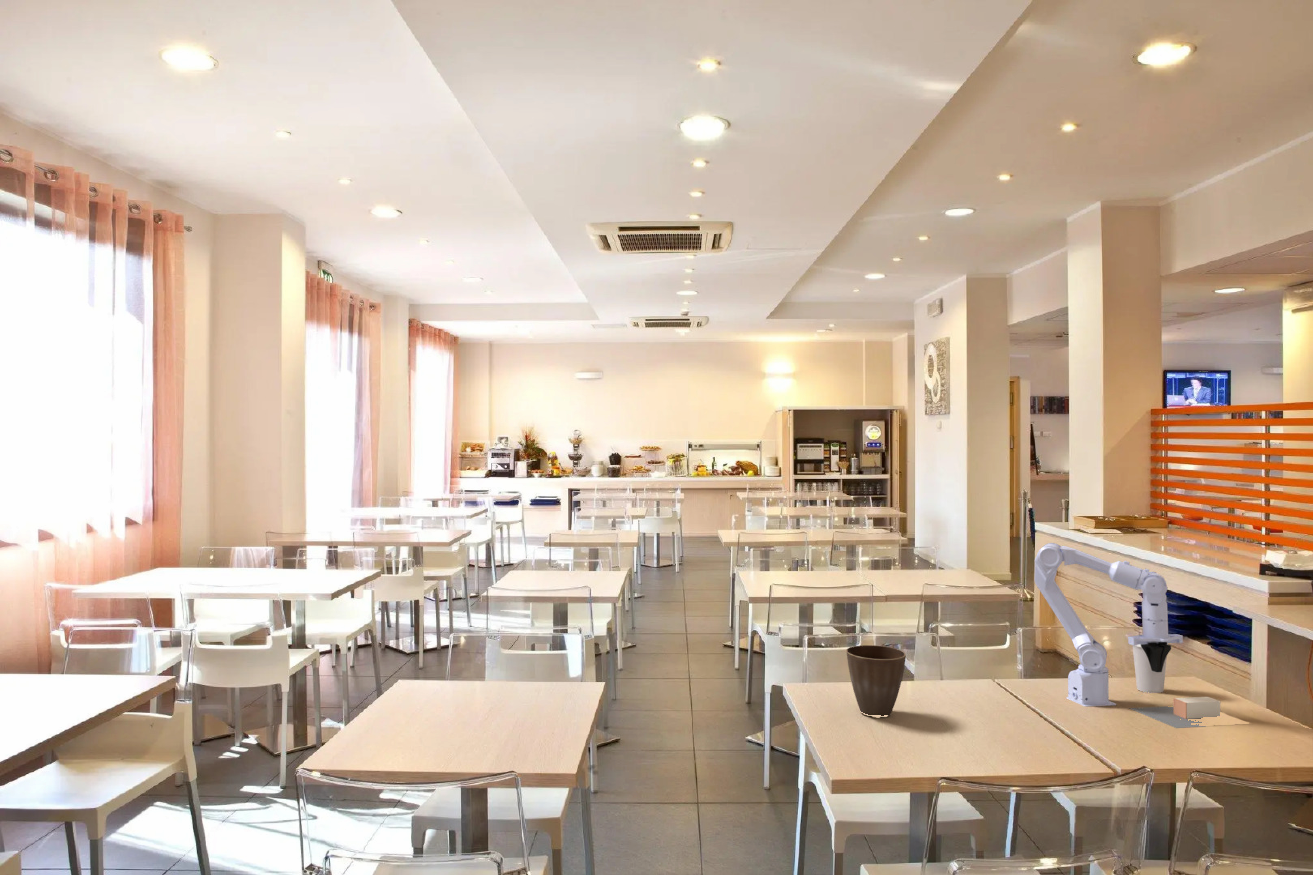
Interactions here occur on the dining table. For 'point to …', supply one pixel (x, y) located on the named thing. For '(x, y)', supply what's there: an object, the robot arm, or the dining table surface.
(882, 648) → the plant pot
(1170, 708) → the mat
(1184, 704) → the block
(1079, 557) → the robot arm
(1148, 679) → the coffee cup
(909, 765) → the dining table surface
